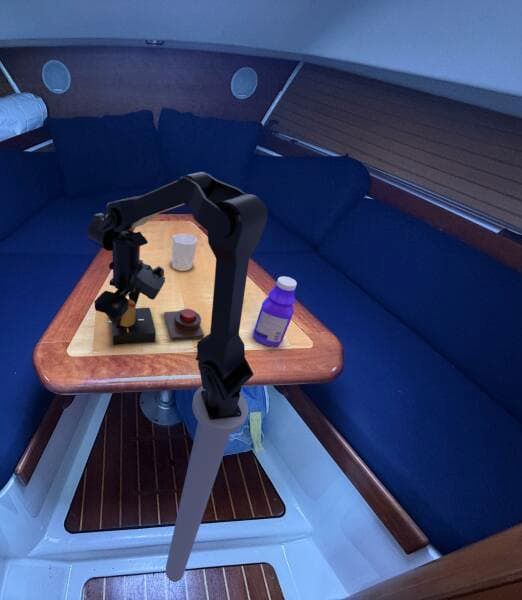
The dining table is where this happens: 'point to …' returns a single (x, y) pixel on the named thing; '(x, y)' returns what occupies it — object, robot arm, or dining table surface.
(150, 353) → the dining table surface
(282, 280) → the bottle
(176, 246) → the white cup
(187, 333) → the button block
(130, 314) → the lock knob
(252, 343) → the dining table surface
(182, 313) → the red button
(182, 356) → the dining table surface
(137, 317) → the black dial base
